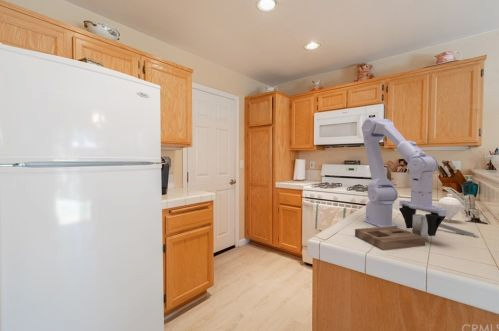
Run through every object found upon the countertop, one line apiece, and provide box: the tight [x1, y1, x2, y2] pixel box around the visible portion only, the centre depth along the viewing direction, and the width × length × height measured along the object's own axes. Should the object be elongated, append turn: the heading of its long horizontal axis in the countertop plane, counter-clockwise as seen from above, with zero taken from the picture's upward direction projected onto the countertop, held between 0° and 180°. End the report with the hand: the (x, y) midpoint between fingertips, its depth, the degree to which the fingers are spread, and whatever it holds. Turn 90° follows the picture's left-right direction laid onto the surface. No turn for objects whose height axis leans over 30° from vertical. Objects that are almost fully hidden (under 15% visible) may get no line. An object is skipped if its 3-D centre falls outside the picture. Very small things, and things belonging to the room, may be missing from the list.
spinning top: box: [437, 193, 463, 223], centre depth 95 cm, size 8×8×12 cm
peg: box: [411, 213, 429, 241], centre depth 75 cm, size 3×3×8 cm
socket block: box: [354, 226, 427, 251], centre depth 73 cm, size 12×16×2 cm
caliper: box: [415, 211, 480, 239], centre depth 84 cm, size 20×1×6 cm, turn 46°
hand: (420, 231), depth 75 cm, fingers open, 7 cm apart
